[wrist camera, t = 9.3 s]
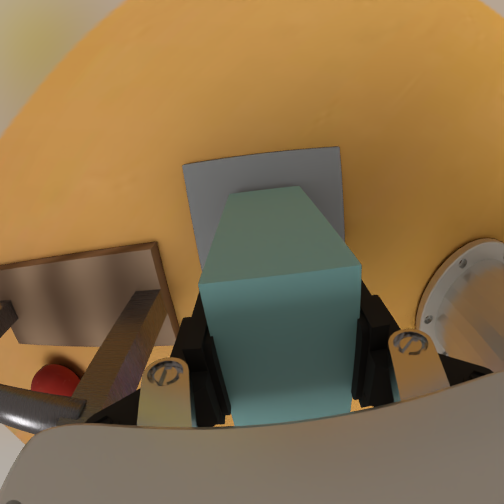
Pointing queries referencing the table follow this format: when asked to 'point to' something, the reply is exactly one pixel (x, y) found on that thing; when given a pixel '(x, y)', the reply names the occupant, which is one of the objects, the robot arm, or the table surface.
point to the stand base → (83, 294)
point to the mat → (262, 185)
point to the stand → (90, 369)
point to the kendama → (55, 380)
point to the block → (281, 308)
